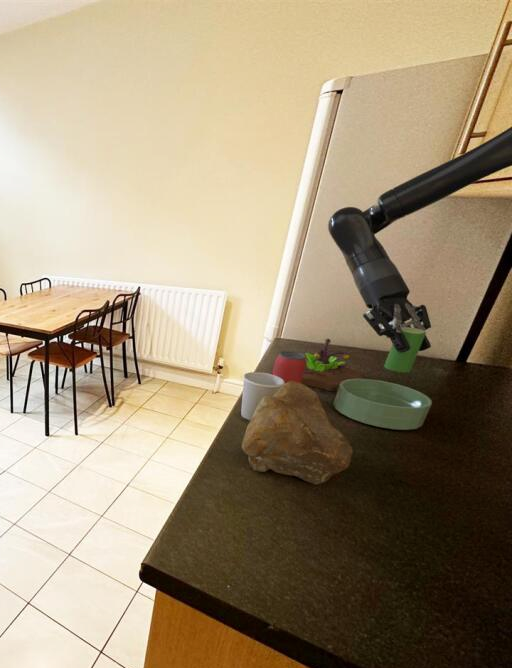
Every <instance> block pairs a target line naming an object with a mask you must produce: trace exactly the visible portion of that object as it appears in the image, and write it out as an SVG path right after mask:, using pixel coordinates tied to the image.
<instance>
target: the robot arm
mask: <svg viewBox="0 0 512 668" xmlns="http://www.w3.org/2000/svg"><path fill="white" fill-rule="evenodd" d="M509 167H512V126H510V127H508V128H507V129H506V130H503V131H502V132H501V133H499V134H497V135H496V136H493V137H492V138H490V139H488V140H487V141H485V142H483V143H482V144H480V145H478V146H475V147H474V148H472V149H470V150H468V151H467V152H466V151H465V152H464V153H463V154H460V155H458V156H456V157H454V158H452V159H450V160H448V161H446V162H444V163H442V164H439V165H437V166H435V167H433V168H430V169H429V170H427V171H425V172H423V173H421V174H419V175H416V176H415V177H411V178H410V179H409V180H406V181H404V182H402V183H400V184H398V185H396V186H394V187H393V188H390V189H389V190H386V191H385V192H383V193H382V194H380V195H379V196H378V197H377V199H376V203H374V204H373V205H372V206H370V207H369V208H367V209H365V210H361V208H358V207H356V206H355V207H354V206H346V207H342V208H340V209H338V210H336V211H335V212H334V213H333V214H331V216H330V217H329V219H328V221H327V231H328V233H329V235H330V237H331V238H332V240H333V242H334V243H335V245H336V246H337V248H338V250H339V251H340V253H341V254H342V256H343V259H344V262H345V264H346V267H347V268H348V269H349V272H350V274H351V275H352V278H353V282H354V285H355V286H356V289H357V291H358V292H359V294H360V297H361V298H362V300H363V302H364V304H365V306H366V308H368V309H370V310H368V311H366V312H365V313H362V317H363V318H364V319H365V321H366V323H368V325H369V326H370V328H372V329H373V331H374V332H375V333H376V334H377V336H379V337H382V336H385V337H386V338H387V339H389V340H390V342H391V344H393V345H394V347H395V349H396V350H397V352H399V353H402V352H405V351H407V350H410V348H411V347H410V345H409V343H408V341H407V340H406V338H405V336H404V334H403V333H401V332H402V330H401V327H410V328H417V329H421V330H424V331H425V332H426V330H428V329H430V328H432V324H431V320H430V317H429V313H428V308H427V306H426V305H425V304H420V305H418V306H417V305H413V303H412V302H411V301H409V298H408V296H409V294H410V293H411V291H410V289H409V287H408V285H407V283H406V281H405V280H404V278H403V276H402V274H401V273H400V271H399V269H398V268H397V265H396V264H395V263H394V262H393V261H392V260H391V258H390V256H389V254H388V253H387V251H386V249H385V248H384V246H383V244H382V243H381V242H380V241H379V240H378V239H377V237H376V236H375V235H376V234H377V233H379V232H381V231H382V230H384V229H386V228H387V227H389V226H390V225H392V224H393V223H394V222H396V221H398V220H400V219H402V218H405V217H407V216H409V215H412V214H414V213H416V212H418V211H420V210H423V209H424V208H428V206H431V205H433V204H435V203H437V202H439V201H441V200H444V199H445V198H447V197H449V196H451V195H453V194H455V193H457V192H458V191H461V190H462V189H464V188H466V187H468V186H470V185H472V184H474V183H476V182H478V181H480V180H482V179H484V178H486V177H489V176H491V175H493V174H496V173H497V172H498V173H499V172H500V171H502V170H504V169H506V168H507V169H508V168H509ZM407 321H408V322H407ZM380 325H381V326H380ZM412 326H413V327H412ZM400 333H401V334H400ZM431 347H432V345H431V342H430V340H429V339H428V337H427V335H426V334H425V336H424V339H423V341H422V344H421V346H420V349H419V351H418V352H423V351H425V350H428V349H430V348H431Z"/></svg>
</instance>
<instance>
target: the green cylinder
mask: <svg viewBox="0 0 512 668" xmlns="http://www.w3.org/2000/svg"><path fill="white" fill-rule="evenodd" d="M401 330H402V332H401V333H403V334H404V336H405V338H406V340H407V341H408V343H409V345H410V347H411V348H410V350H407V351H405V352H402V353H399V352H397V350H396V349H395V347H394V345H393V343H391V346H390V349H389V352H388V355H387V357H386V360H385V363H384V365H383V368H385V369H387V370H389V371H392V372H396V373H397V372H398V373H410V372H411V371H412V368H413V366H414V363H415V361H416V358H417V356H418V355H419V354H418V353H419V352H420V351H419V349H420V346H421V344H422V341H423V339H424V336H425V335H426V334H427V332H426V330H425V331H424V330H421V329H417V328H414V327H412V328H410V327H401ZM401 333H400V334H401Z"/></svg>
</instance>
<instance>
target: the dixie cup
mask: <svg viewBox="0 0 512 668" xmlns="http://www.w3.org/2000/svg"><path fill="white" fill-rule="evenodd" d="M242 378H243V383H242V397H241V399H242V400H241V409H240V410H241V411H240V415H241V417H242V418H243V419H245V420H248V421H251V419H252V416H253V414H254V412H255V410H256V408H257V406H258V404H259V403H260V401H261V400H262V398H264V397H266V396H274V395H275V394H276V393H277V392H278V391H279V390H280V389H281V388H282V386H283V385H284V384H285V382H284V380H283V379H281V378H280V377H278V376H275V375H272V373H267V372H261V371H251V372H246V373H244V374H243V376H242Z"/></svg>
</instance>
